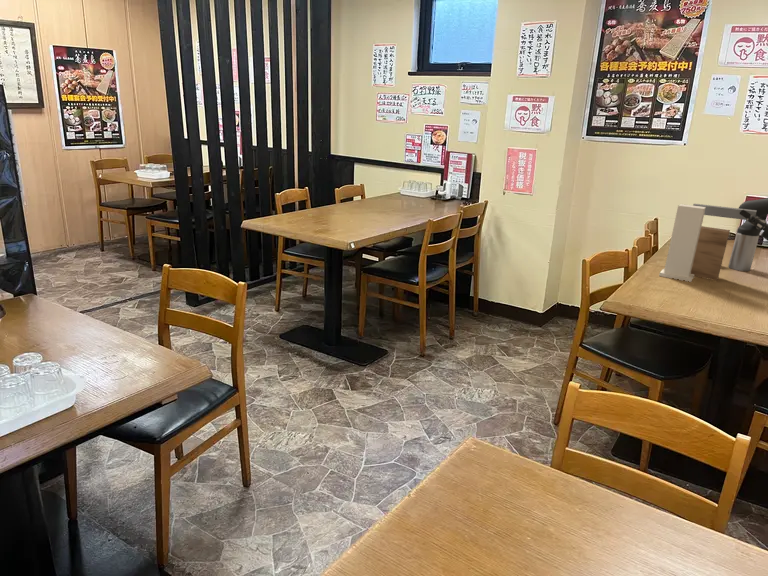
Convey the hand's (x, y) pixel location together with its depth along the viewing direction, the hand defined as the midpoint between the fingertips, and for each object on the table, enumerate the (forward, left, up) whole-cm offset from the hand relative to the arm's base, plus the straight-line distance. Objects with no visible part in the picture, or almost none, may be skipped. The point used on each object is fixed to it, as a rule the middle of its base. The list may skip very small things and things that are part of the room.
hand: (741, 210), depth 243 cm
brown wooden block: (0, -12, -31) cm, 34 cm away
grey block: (0, -7, -3) cm, 7 cm away
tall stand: (+11, -18, -31) cm, 38 cm away
